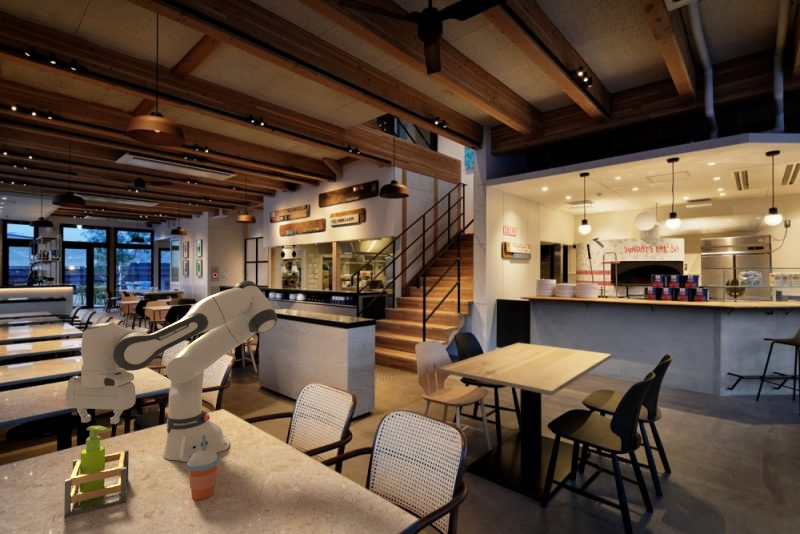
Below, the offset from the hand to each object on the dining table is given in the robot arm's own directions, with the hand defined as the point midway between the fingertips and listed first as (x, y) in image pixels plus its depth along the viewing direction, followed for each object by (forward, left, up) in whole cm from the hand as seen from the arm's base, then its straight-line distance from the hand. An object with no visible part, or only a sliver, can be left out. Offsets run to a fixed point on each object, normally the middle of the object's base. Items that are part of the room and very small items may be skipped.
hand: (100, 422), depth 119 cm
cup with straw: (-27, +14, -23) cm, 38 cm away
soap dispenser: (+2, -2, -22) cm, 22 cm away
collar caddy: (0, 0, -23) cm, 23 cm away
